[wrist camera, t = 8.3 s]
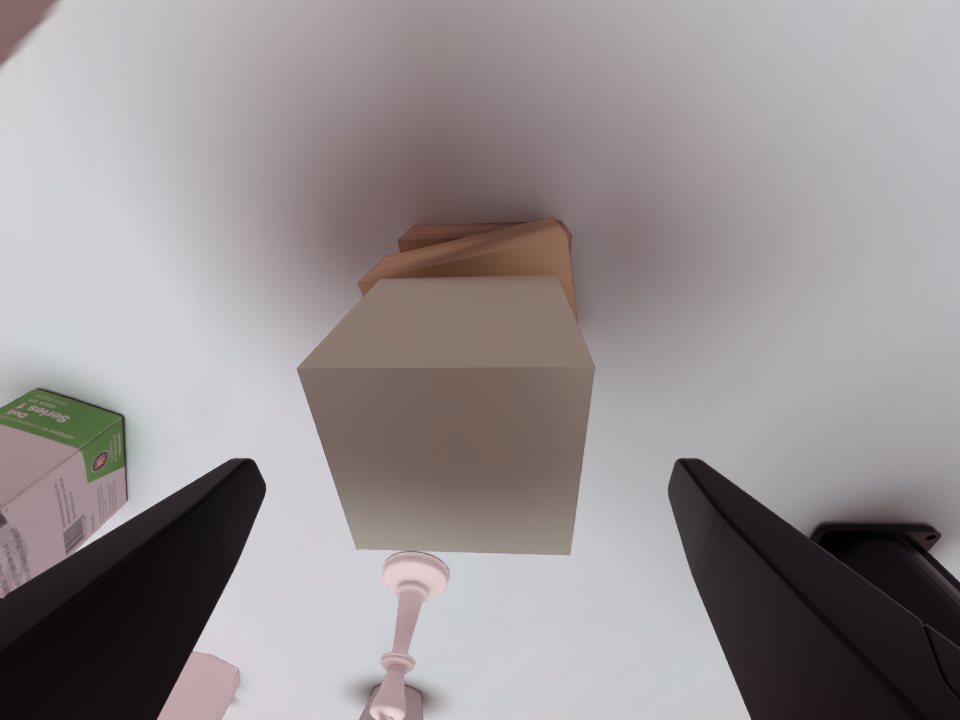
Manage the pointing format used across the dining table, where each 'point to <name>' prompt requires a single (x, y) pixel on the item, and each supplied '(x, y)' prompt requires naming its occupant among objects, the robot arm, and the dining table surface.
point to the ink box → (54, 481)
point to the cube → (455, 414)
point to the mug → (202, 690)
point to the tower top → (486, 257)
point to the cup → (412, 701)
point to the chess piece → (405, 623)
